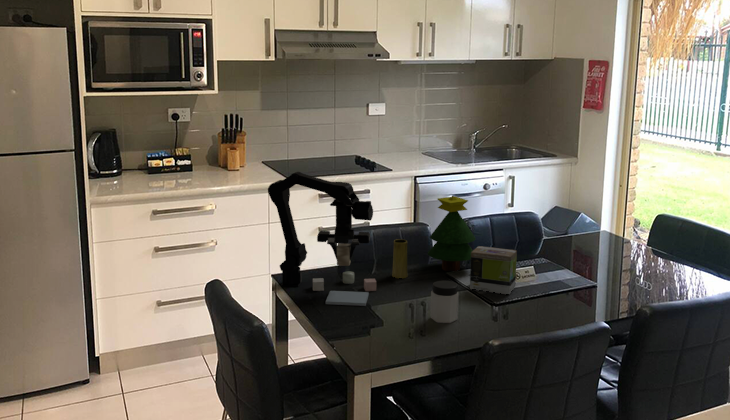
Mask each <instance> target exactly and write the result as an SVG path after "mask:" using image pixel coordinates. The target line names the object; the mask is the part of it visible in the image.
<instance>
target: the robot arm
mask: <svg viewBox="0 0 730 420" xmlns="http://www.w3.org/2000/svg"><path fill="white" fill-rule="evenodd" d="M296 185H297V186H301V187H305V188H307V189H308V188H309V189H312V190H315V191H318V192H322V193H325V194H327V195H328V196H329V197H331V198H333V201H332V202H330V204H329V205H330V206H331V207H335V228H334V233H331V231H330V230H320V231H318V233H317V237H316V242H318V243H326V245H330V247H331V248H332V250H333V253H334V257H335V259H336V260H337V246H338V243H340V244H349V241H351V243H350V244H351V251H350V260H352V258H353V255H354V251H355V250H356V247H357V246H360V244H370V241H371V233H370V232H369V231H359V232H358V234H355V230H354V229H353V228H352V227H353V225H352V223H353V221H352V219H354V220H358V221H359V220H361V221H372V219H373V216H374V209H373V205H372V201H371V200H366V201H365V200H364V201H363V200H360V199H359V198H360V197H358V196H357V194H356V193H355V191H354V187H353V185H352V184H351V183H349V182H346V181H345V182H344V181H343V182H342V181H329V180H326V179H324V178H318V177H317V176H316V177H315V176H314V175H313V176H312V175H309V174H306V173H302V172H301V171H295V172H293V173H291V174H290V175H289V176H287V177H286V178H284V179H279V180H277V181H275V182H273V183H270V184H269V186H268V188H267V193H268V195H269V197H270V200H271V202H272V203H273V204H274V206H275V207H276V209H277V214H278V217H279V218H278V219H279V222H280V226H281V229H282V234H283V237H284V241H285V247H284V248H285V249H284V257H285V259H284V260H283V261H282V263H280V264H279V268H280V271H281V272H282V273H281V276H282V278H281V279H282V283H281V287H300V285H301V283H302V280H303V277H302V276H303V274H302V273H303V271H302V270H301V266H302V264H303V263H304V262H305V260H306V258H307V254H308V251H307V249H306V243H301V242H300V240H299V238H298V234H297V229H296V227H295V223H294V219H293V216H292V211H291V207H290V197H291V193H290V192H291V191H290V189H291V188H293V187H294V186H296Z"/></svg>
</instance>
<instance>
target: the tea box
mask: <svg viewBox="0 0 730 420" xmlns="http://www.w3.org/2000/svg"><path fill="white" fill-rule="evenodd" d="M472 250H473V251H472V252H471V259H470V272H469V275H470V276H469V289H470V290H472V289H476V290H475V291H479V290H483V291H482V292H486V291H489V292H488V293H493V292H495V293H494V294H500V293H501V295H506V294H509V295H510V294H511V293H512V292H513V291H514V289H515V288H516V280H517V261H518V260H517V257H518V255H517V253H518V250H516V249H507V248H498V247H490V246H482V245H481V246H480V245H478V246H477V247H476V248H474V249H472ZM514 287H515V288H514ZM512 290H513V291H512ZM511 291H512V292H511Z"/></svg>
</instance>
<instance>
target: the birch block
mask: <svg viewBox="0 0 730 420" xmlns="http://www.w3.org/2000/svg"><path fill="white" fill-rule="evenodd" d="M350 251H351V243H347V244H344V243H337V259H336V266H340V267H342V266H345V267H349V266H350V265H351V263H352V262H351V260H352V259H351V260H350Z"/></svg>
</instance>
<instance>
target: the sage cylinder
mask: <svg viewBox="0 0 730 420" xmlns="http://www.w3.org/2000/svg"><path fill="white" fill-rule="evenodd" d="M342 283H343V284H347V285H348V284H349V285H351V284H354V283H355V272H354V271H344V272H342Z"/></svg>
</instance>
